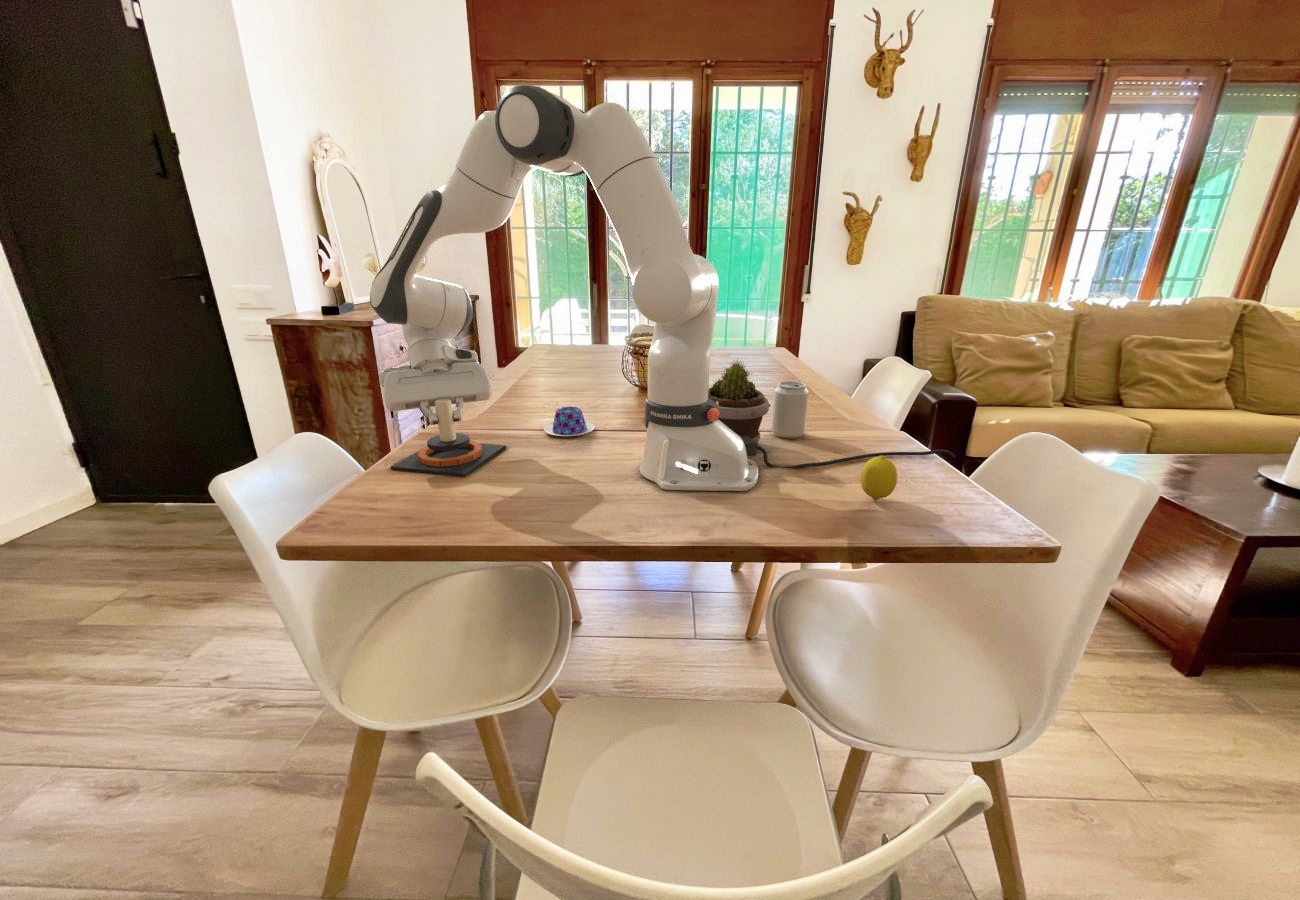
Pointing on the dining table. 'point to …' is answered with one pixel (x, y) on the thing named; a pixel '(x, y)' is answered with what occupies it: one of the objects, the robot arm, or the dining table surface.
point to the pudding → (569, 423)
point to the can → (789, 409)
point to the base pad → (450, 459)
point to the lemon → (879, 477)
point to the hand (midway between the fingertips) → (446, 421)
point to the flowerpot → (739, 402)
